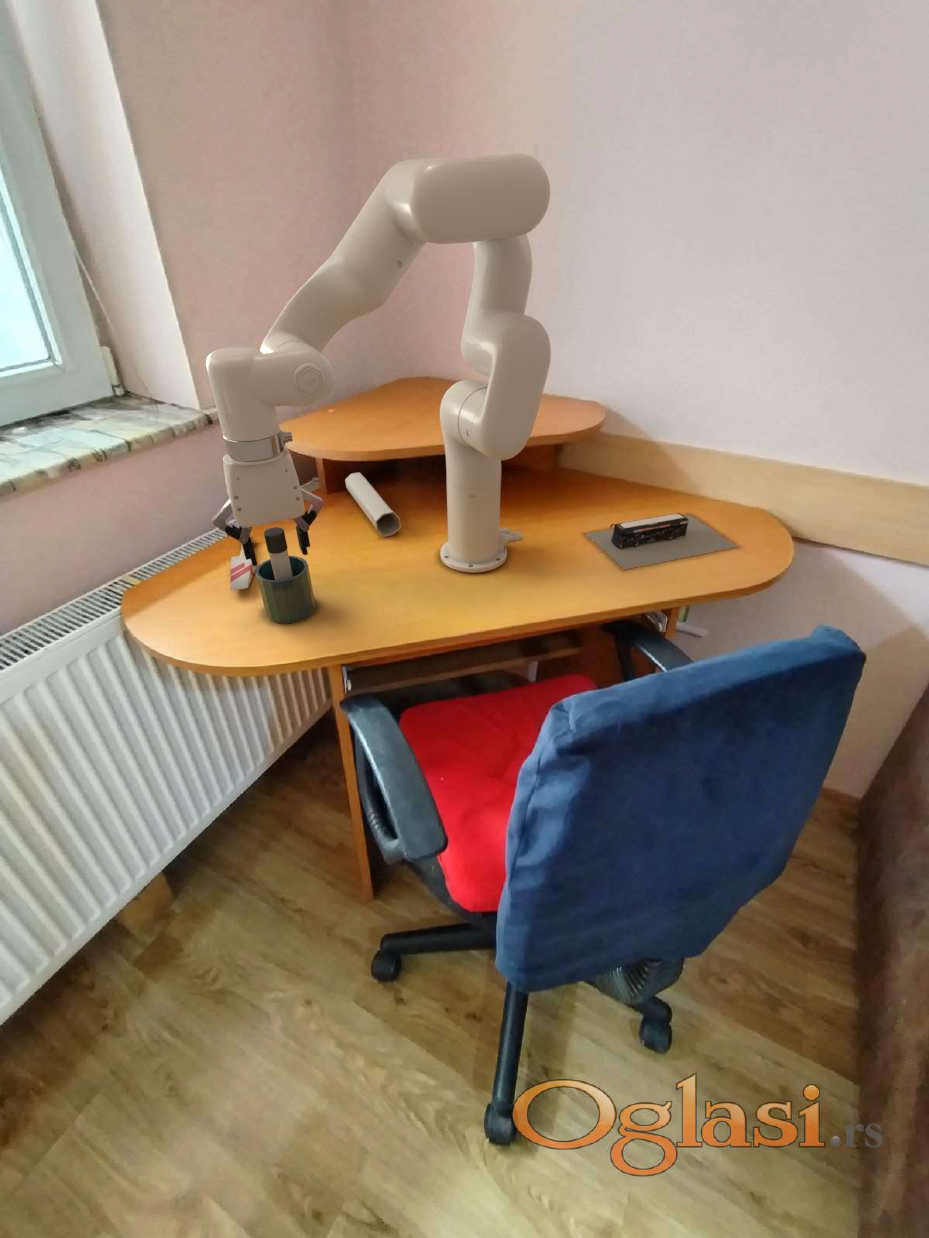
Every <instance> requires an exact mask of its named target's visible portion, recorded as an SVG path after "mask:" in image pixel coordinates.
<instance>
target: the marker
mask: <svg viewBox="0 0 929 1238" xmlns="http://www.w3.org/2000/svg"><path fill="white" fill-rule="evenodd" d="M263 537H264V541H265V547H266V550H267V552H268V555H269V559H270V560H271V564H272V568H273V573H274V577H275V580H285V579H289V578H292V577H293V575H292V570H291V565H290V560H289V556H290V554H289V551H288V544H287V538H286V533H285V530H284V529H283V527H277V526H276V527H275V526H274V527H269V528H267V529H265V530H264V531H263Z"/></svg>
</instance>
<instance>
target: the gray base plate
mask: <svg viewBox="0 0 929 1238" xmlns="http://www.w3.org/2000/svg"><path fill="white" fill-rule="evenodd" d="M613 526H614V527H613ZM609 528H610V529H606V530H600V531H594V532H589V533H586V534H585V535H586V536H587V537H588V538H589V539H591V540H592V541H593V542H594V543H595V544H596V545H597V546H598V548H600V549H601V550H602V551H603V552H605V553H606V554H607V555H608V556H609V557H610V558H611V559H612V560H613V561H614V562H615V563H616V564H617V565H619V566H620V567H621V568H622V570H629V569H635V568H639V567H645V566H650V565H655V564H659V563H664V562H669V561H675V560H680V559H685V558H690V557H694V556H700V555H705V554H710V553H714V552H715V553H716V552H719V551H725V550H730V549H735V548H738V546H737V545H736V544H734V543H733V542H731V540H729V539H727V538H725V537H724V536H723V535H721V534H720V533H719V532H717V531H716V530H714V529H712V528H711V527H709V526H708V525H707V524H705V523H704V522H702V521H701V520H699V518H697V517H695V516H694V515H692V514H691V515H683V513H680V512H676V513H670V514H664V515H657V516H653V517H649V518H641V519H636V520H631V521H624V522H619V523H611V524H610V527H609Z"/></svg>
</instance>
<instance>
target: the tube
mask: <svg viewBox="0 0 929 1238" xmlns="http://www.w3.org/2000/svg"><path fill="white" fill-rule="evenodd" d="M344 482H345V488H346V490H347V491H348V492H349V493H350V495H351V496H352V497H353V499H354V500H355V502H356V503H357V504H358V506H359V507H360V509H361V510H362V511H363V512H364V514H365V515H366V517H367V519H369V522H371V523H372V525H373V527H374V528H375V531H376V532H377V533H378V534H379V535H380V536H381V537H383V538H386V537H391V536H394V535H395V534H396V533H397V532H398V531H399V530H400V529H401V527H402V525H401V518H400V516H399V515H398V514H397V513H395V511H394V510H393V509H392V508H391V507H390V506H389V505H388V503H387V502H386V501H385V500H384V499H383V497H381V495H380V494H379V493H378V491H377V490H376V489H375V488H374V486H373V485H372V484H371V483H370V482H369V481H368V479H367V478H366V477H365V476H364V475H363V474H362V473H361V472H359V471H358V472H353V473H350V474H349V475H348V476H347V477H346V478H345V480H344Z"/></svg>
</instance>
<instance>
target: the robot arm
mask: <svg viewBox="0 0 929 1238" xmlns="http://www.w3.org/2000/svg"><path fill="white" fill-rule="evenodd" d="M550 200H551V185H550V180H549V177H548V174H547V171H546V170H545V168H544V167H543V165H542V164H541V163H540V162H539V161H538V160H537V159H536V158H534V157H533V156H531V155H529V154H525V153H509V154H488V155H478V156H474V157H428V158H427V157H426V158H414V159H413V158H412V159H405V160H401V161H399V162H397V163H395V164H394V165H392V166H391V167H390V168H389V169H388V170H387V171H386V172H385V174H384V175H383V176H382V178H381V179H380V180H379V182H378V184H377V185H376V186H375V188H374V190H373V191H372V193H371V194H370V195H369V198H368V199H366V202H365V204H364V205H363V206H362V207H361V210H360V211H359V213H358V214H357V216H356V217H355V219H354V220H353V222H352V224H351V225H350V226H349V228H348V229H347V231H346V232H345V234H344V235H343V237H342V239H340V241H339V243H338V244H337V246H336V248H335V249H334V251H332V253H331V255H330V256H329V257H328V258H327V259H326V261H324V263H322V264H321V265H320V266H319V268H317V270H316V271H314V272H313V274H312V275H311V276H310V277H309V278H308V279H307V280H306V281H305V283H303V284H302V285H301V286H300V288H298V290H297V291H296V292H295V293H294V294H293V296H292V297H291V298H290V299H289V300H288V302H287V303H286V304H285V306H284V307H283V309H282V310H281V312H280V313H279V315H278V316H277V318H276V319H275V321H274V323H273V324H272V326H271V327H270V329H269V331H268V332H267V333H266V335H265V337H264V339H263V341H262V342H261V344H260V348H259V349H257V348H254V347H250V346H249V347H248V346H232V347H224V348H219V349H216V350H214V351H211V352H210V353H209V354H208V356H207V357H206V359H205V367H206V373H207V376H208V380H209V384H210V388H211V392H212V396H213V401H214V404H215V408H216V412H217V416H218V420H219V424H220V429H221V432H222V436H223V440H224V441H223V442H224V444H225V448H226V453H227V454H225V455H224V456H223V457H222V465H223V467H222V468H223V475H224V482H225V487H226V492H227V496H228V500H227V501H226V502H225V503H224V504H223V505H222V507H221V508H220V509H218V511H216V513H215V514H214V515H213V516H212V518H211V522H212V525H213V526H214V527H216V528H217V529H219V530H220V531H222V532H224V533H225V534H226V535H227V536H229V537H231V538H233V539H235V540H236V541H238V542H239V543H240V544H241V547H242V546H243V550H244V554H245V557H246V560H248V559H251V562H252V565H253V566H256V567H257V566H258V560H257V557H256V552H255V548H254V545H253V544H254V543H252V541H251V538H250V535H251V532H252V530H253V528H254V527H258V526H263V525H268V524H275V523H279V522H284V521H290V520H292V521H293V522H294V523H295V524H296V526H295V532H296V536H297V542H298V546H299V549H300V551H301V553H302V555H303V556H307V555H309V552H308V548H310V547H311V541H310V537H309V532H308V531H310V527H311V525H312V524H313V523H314V521H315V520H316V518H317V517H318V514H319V513H320V511H321V510H322V508H323V507H324V504H325V503H324V501H323V499H322V497H320V496H318V495H316V494H314V493H312V492H310V491H308V490H306V489H304V488H302V487H301V485H300V484H301V483H300V479H299V477H298V473H297V470H296V467H295V464H294V460H293V457H292V454H291V452H290V451H289V448H288V447H287V446H286V444H289V443H292V442H293V441H294V439H293V435H292V431H283V430H282V429H281V427H280V421H279V417H278V412H277V407H310V406H314V405H317V404H320V403H322V402H323V401H324V400H326V399H327V398H328V397H329V395H330V394H331V392H332V390H333V388H334V385H335V375H334V371H333V370H334V369H333V367H332V365H331V363H330V362H329V360H328V358H327V357H326V356H325V355H323V354H322V351H323V350H324V349H325V347H326V346H327V344H329V342H330V341H331V339H332V338H333V337H334V336H335V335H336V334H337V333H338V332H339V331H340V330H341V329H342V328H343V327H344V326H346V325H348V324H349V323H350V322H352V321H353V320H354V321H355V320H356V319H359V318H361V317H363V316H365V315H368V314H370V313H372V312H374V311H376V310H378V309H379V308H381V307H382V306H384V304H385V303H386V302H387V301H388V299H390V296H391V295H392V293H393V292H394V291H395V289H396V288H397V286H398V284H400V281H401V280H402V278H403V277H404V276H405V274H406V273H407V271H408V270H409V269H410V267H411V265H412V264H413V263H414V261H415V260H416V258H417V257H418V255H419V254H420V253H421V251H422V249H423V248H424V247H425V245H426V244H427V243H429V244H437V245H449V244H451V245H452V244H466V243H471V247H472V251H473V257H474V258H473V259H474V260H473V261H474V266H473V276H472V283H471V289H470V294H469V300H468V304H467V308H466V314H465V319H464V325H463V328H462V329H463V330H462V334H461V339H460V353H461V356H462V359H463V361H464V363H465V364H466V365H467V366H468V367H470V368H471V369H472V370H473V371H476V372H477V373H479V374H481V375H484V376H486V377H488V381H487V383H485V382H482V381H479V380H476V379H463V380H460V381H457V382H455V383H454V384H452V385H450V386H449V388H448V389H447V390H446V391H445V393H444V395H443V397H442V399H441V402H440V405H439V406H440V407H439V425H440V431H441V436H442V440H443V446H444V454H445V470H446V471H445V472H446V510H447V512H446V513H447V541H446V542H445V543H443V545H441V547H440V550H439V554H440V555H439V558H440V560H441V562H442V563H443V564H444V565H445V566H446V567H448V568H450V569H452V570H455V571H458V572H461V573H468V574H469V573H470V574H474V573H486V572H490V571H493V570H496V569H497V568H499V567H500V566H502V565H504V563H505V562H506V560H507V557H508V550H507V546H508V545H509V544H510V543H518V542H521V541H523V537H524V536H523V532H522V531H521V530H517V531H511V529H510V528H509V527H506V528H501V529H500V527H501V525H500V524H501V523H500V522H501V490H502V489H501V488H502V461H507V460H510V459H513V458H514V457H516V456H517V455H518V454H520V453H521V452H522V450H524V448H525V446H526V445H527V443H528V442H529V439H530V437H531V435H532V432H533V430H534V426H535V423H536V419H537V416H538V412H539V409H540V404H541V401H542V397H543V394H544V390H545V386H546V382H547V378H548V375H549V371H550V366H551V361H552V360H551V359H552V347H551V341H550V337H549V334H548V332H547V330H546V327H544V325H543V324H542V323H541V322H540V321H538V320H537V319H535V318H534V317H532V316H529V315H527V314H526V308H527V304H528V297H529V292H530V287H531V283H532V277H533V255H532V249H531V244H530V240H529V237H528V234H529V233H530V232H532V231H533V230H534V229H536V228H537V226H539V224H540V223H541V222H542V220H543V219H544V217H545V215H546V213H547V211H548V208H549V204H550ZM304 501H305V502H306V503H309V504H310V506H309V508H307V509H305V508H306V507H305V503H304ZM305 510H306V511H305ZM231 515H233V518H234V520H235V523H236V524H237V526H238V527H237V526H236V525H234V524H232V523H230V522H228V521H227V519H228V518H229V517H230V516H231Z"/></svg>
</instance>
